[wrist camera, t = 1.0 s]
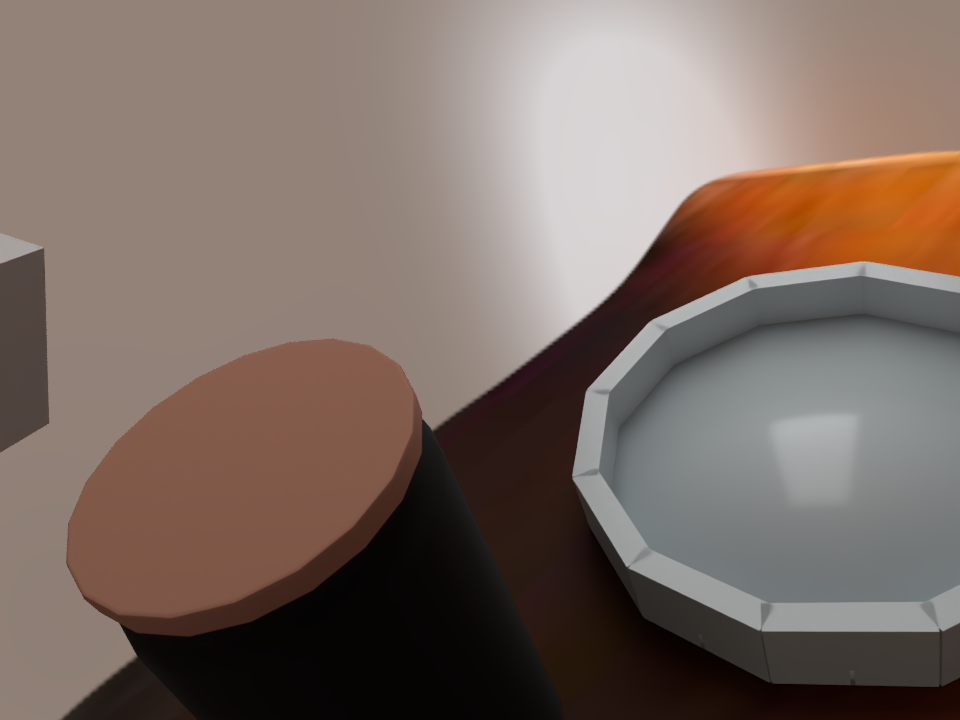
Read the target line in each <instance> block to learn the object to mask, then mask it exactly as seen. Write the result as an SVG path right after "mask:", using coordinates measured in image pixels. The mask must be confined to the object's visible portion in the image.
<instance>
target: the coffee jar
mask: <svg viewBox="0 0 960 720" xmlns="http://www.w3.org/2000/svg"><path fill="white" fill-rule="evenodd" d="M67 541H68V542H67V559H66V563H67V566H68V568H69V570H70V572H71V574H72V576H73V578H74V580H75V582H76V584H77V586H78V588H79V589H80V592H81V593H82V596H83V597H84V599H85V600H86V601H87V602H89V603H90V604H91V605H92V606H93V607H95V608H96V609H97V610H98V611H99V612H101V613H102V614H104V615H106V616H108V617H109V618H111V619H113V620H115V621H117V622H119V624H120V625H121V627H122V629H123V631H124V633H125V634H126V636H127V638H128V640H129V642H130V643H131V645H132V647H133V649H134V651H135V653H136V655H137V656H138V657H139V658H140V659H141V660H142V661H143V663H144V664H145V665H146V666H147V667H148V668H149V669H150V670H151V671H152V672H153V673H154V674H155V675H156V676H157V677H158V678H159V679H160V681H161V682H162V683H163V684H164V685H165V686H166V687H167V688H168V689H169V690H170V691H171V692H172V693H173V694H174V695H175V696H176V697H177V698H178V700H179V701H180V702H181V703H182V704H183V705H184V706H185V707H186V708H187V709H188V710H189V711H190V712H191V713H192V714H193V715H194V716H195V718H196V719H197V720H563V719H562V711H561V703H560V700H559V698H558V696H557V693H556V691H555V689H554V687H553V685H552V683H551V681H550V678H549V676H548V674H547V672H546V670H545V668H544V666H543V664H542V661H541V659H540V657H539V655H538V653H537V651H536V649H535V646H534V644H533V642H532V640H531V638H530V636H529V634H528V632H527V629H526V627H525V625H524V623H523V621H522V619H521V617H520V614H519V612H518V610H517V608H516V606H515V604H514V602H513V600H512V597H511V595H510V593H509V591H508V589H507V587H506V585H505V582H504V580H503V578H502V576H501V574H500V572H499V570H498V568H497V565H496V563H495V561H494V559H493V557H492V555H491V553H490V551H489V548H488V546H487V544H486V542H485V540H484V538H483V536H482V533H481V531H480V529H479V527H478V525H477V523H476V521H475V519H474V516H473V514H472V512H471V510H470V508H469V506H468V504H467V501H466V499H465V497H464V495H463V493H462V491H461V489H460V487H459V484H458V482H457V480H456V478H455V476H454V474H453V472H452V469H451V467H450V465H449V463H448V461H447V459H446V457H445V455H444V453H443V451H442V449H441V447H440V445H439V444H438V442H437V440H436V438H435V436H434V434H433V432H432V430H431V428H430V427H429V426H428V425H427V423H426V422H425V421H424V420H423V419H422V411H421V408H420V406H419V402H418V399H417V397H416V394H415V392H414V391H413V388H412V387H411V385H410V383H409V381H408V379H407V377H406V375H405V373H404V372H403V370H402V368H401V366H400V365H399V364H398V363H396V362H395V361H393V360H392V359H390V358H388V357H387V356H385V355H384V354H382V353H381V352H379V351H378V350H376V349H374V348H373V347H371V346H369V345H364V344H359V343H353V342H348V341H342V340H336V339H324V340H312V341H299V342H289V343H286V344H282V345H279V346H275V347H272V348H269V349H265V350H262V351H258V352H255V353H251V354H248V355H244V356H242V357H240V358H238V359H236V360H234V361H232V362H229V363H227V364H225V365H223V366H221V367H219V368H217V369H215V370H212V371H210V372H208V373H206V374H204V375H202V376H200V377H198V378H196V379H195V380H193V381H192V382H190V383H189V384H187V385H186V386H184V387H183V388H182V389H180V390H179V391H177V392H176V393H174V394H173V395H171V396H170V397H168V398H167V399H165V400H164V401H162V402H161V403H159V404H158V405H156V406H155V407H154V408H152V409H151V410H150V411H149V412H148V413H147V414H146V415H145V416H144V417H143V418H142V419H141V420H139V421H138V422H137V423H136V424H135V425H134V426H133V427H132V428H131V429H130V430H129V431H128V432H127V433H125V435H123V436H122V437H121V438H120V439H119V440H118V441H117V442H116V443H115V444H114V446H113V447H112V448H111V450H110V451H109V452H108V454H107V455H106V456H105V458H104V459H103V460H102V462H101V463H100V464H99V466H98V467H97V468H96V470H95V471H94V472H93V474H92V475H91V476H90V478H89V479H88V480H87V482H86V483H85V486H84V488H83V490H82V493H81V495H80V498H79V500H78V502H77V504H76V507H75V509H74V512H73V514H72V516H71V519H70V521H69V523H68V540H67Z"/></svg>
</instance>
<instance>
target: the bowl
mask: <svg viewBox="0 0 960 720" xmlns="http://www.w3.org/2000/svg"><path fill="white" fill-rule="evenodd" d="M572 477H573V481H574V484H575V487H576V490H577V492H578V495H579V498H580V501H581V504H582V507H583V509H584V512H585V515H586V518H587V521H588V524H589V526H590V528H591V530H592V532H593V533H594V535H595V537H596V539H597V540H598V542H599V544H600V545H601V547H602V549H603V550H604V552H605V554H606V555H607V557H608V559H609V560H610V562H611V564H612V565H613V567H614V569H615V571H616V572H617V574H618V576H619V577H620V579H621V581H622V582H623V584H624V586H625V587H626V589H627V591H628V592H629V594H630V596H631V598H632V599H633V601H634V603H635V604H636V606H637V608H638V609H639V611H640V613H641V614H642V616H643V617H644V618H645V619H647V620H649V621H651V622H653V623H655V624H657V625H659V626H661V627H663V628H665V629H666V630H668V631H670V632H672V633H674V634H676V635H678V636H680V637H682V638H684V639H686V640H688V641H690V642H692V643H694V644H696V645H697V646H699V647H701V648H703V649H705V650H707V651H709V652H711V653H713V654H715V655H717V656H719V657H721V658H723V659H725V660H726V661H728V662H730V663H732V664H734V665H736V666H738V667H740V668H742V669H744V670H746V671H748V672H750V673H752V674H754V675H756V676H757V677H759V678H761V679H763V680H765V681H767V682H769V683H770V682H771V681H772V683H776V684H822V685H869V686H915V687H939V684H940V685H941V686H944V685H946V684H948V683H950V682H952V681H954V680H956V679H958V678H960V277H957V276H951V275H945V274H939V273H933V272H927V271H921V270H915V269H909V268H903V267H897V266H891V265H885V264H879V263H873V262H867V261H866V262H864V261H863V262H855V263H848V264H840V265H832V266H824V267H817V268H809V269H801V270H793V271H786V272H778V273H770V274H762V275H755V276H749V278H748V277H745V278H743V279H741V280H739V281H736V282H734V283H732V284H730V285H728V286H726V287H723V288H721V289H719V290H717V291H715V292H712V293H710V294H708V295H706V296H704V297H702V298H699V299H697V300H695V301H693V302H691V303H689V304H686V305H684V306H682V307H680V308H678V309H676V310H673V311H671V312H669V313H667V314H665V315H662V316H660V317H658V318H656V319H654V320H652V321H651V322H649V323H648V324H647V325H646V326H645V327H644V329H643V330H642V331H641V332H640V333H639V334H638V335H637V336H636V337H635V338H634V339H633V340H632V342H631V343H630V344H629V345H628V346H627V347H626V348H625V349H624V350H623V351H622V352H621V353H620V355H619V356H618V357H617V358H616V359H615V360H614V361H613V362H612V363H611V364H610V365H609V366H608V368H607V369H606V370H605V371H604V372H603V373H602V374H601V375H600V376H599V377H598V378H597V379H596V381H595V382H594V383H593V384H592V385H591V386H590V387H589V388H588V389H587V391H586V396H585V402H584V408H583V414H582V420H581V427H580V433H579V439H578V445H577V451H576V457H575V463H574V469H573V475H572Z"/></svg>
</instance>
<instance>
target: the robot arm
mask: <svg viewBox="0 0 960 720" xmlns="http://www.w3.org/2000/svg"><path fill="white" fill-rule="evenodd" d="M46 336H47V335H46V299H45V267H44V248H43V247H40V246H37V245H34V244H31V243H28V242H25V241H22V240H19V239H16V238H13V237H10V236H7V235H4V234H1V233H0V452H2V451H3V450H5V449H7V448H8V447H10V446H12V445H13V444H15V443H17V442H19V441H20V440H22V439H23V438H25V437H27V436H29V435H30V434H32V433H33V432H35V431H37V430H38V429H40V428H42V427H44V426H45V425H47V424H49V407H48V375H47V374H48V373H47V337H46Z"/></svg>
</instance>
